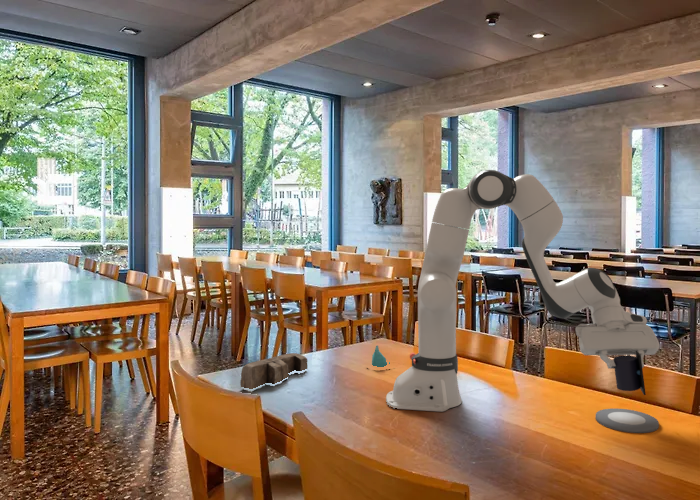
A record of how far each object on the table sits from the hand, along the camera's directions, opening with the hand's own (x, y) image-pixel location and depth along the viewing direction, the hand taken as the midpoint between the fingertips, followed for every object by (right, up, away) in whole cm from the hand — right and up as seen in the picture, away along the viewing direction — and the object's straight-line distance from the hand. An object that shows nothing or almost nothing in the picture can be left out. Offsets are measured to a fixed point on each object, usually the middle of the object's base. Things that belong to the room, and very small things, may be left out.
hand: (626, 367), depth 148 cm
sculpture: (-98, -14, +44) cm, 109 cm away
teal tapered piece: (-60, -12, +60) cm, 86 cm away
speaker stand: (0, -15, 0) cm, 15 cm away
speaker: (+1, -6, 0) cm, 6 cm away
